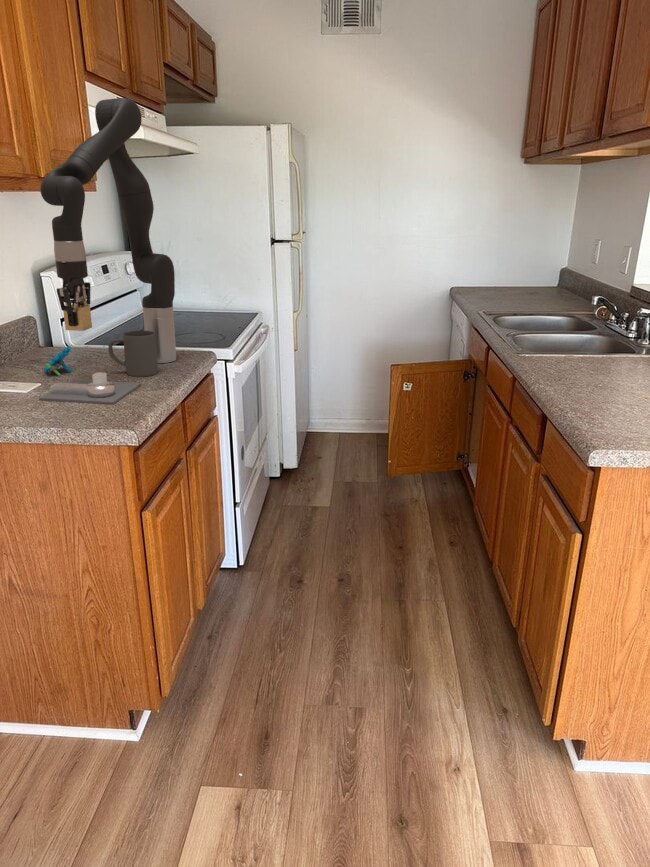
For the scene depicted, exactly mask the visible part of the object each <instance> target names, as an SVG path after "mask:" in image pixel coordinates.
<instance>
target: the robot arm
mask: <svg viewBox="0 0 650 867" xmlns="http://www.w3.org/2000/svg"><path fill="white" fill-rule="evenodd" d="M94 116H95V120H96V121H95V122H96V126H97V129H98V132H96V133H95V134H93V135H91V136H90V137H88V138H87V139H85V140H84V141H82V142H81V143H80V144H79V145H77V147H76V148H75V149H74V151H73V152H72V153H71V154H70V155H69V157H68V158H67V159H66V161H64V162H63V163H62V164H60V165H58V166H57V167H55V168H54V169H53V170H51V171H50V172H49V173H47V175H46V176H45V177H44V178H43V179H42V181H41V183H40V194H41V198H42V199H43V200H44V202H46V203H47V204H48V205H51V206H55V207H57V206H58V207H62V211H61V212H62V213H61V214H60V215H57V216H55V217H53V218H52V221H51V227H52V236H53V252H54V259H55V260H54V261H55V268H56V276H57V278H59V279H62V287H59V288H57V289H56V293H57V297H58V301H59V305H60V309H61V311H66V312H67V315H68V323H69V326H77V325H78V322H77V314H76V305H90V306H91V282H86V281H85V280H84V279H86V278H88V275H89V274H88V273H89V272H88V264H87V256H86V255H87V254H86V249H85V243H84V237H83V228H82V221H83V216H84V215H83V214H84V210H85V209H84V208H85V201H86V192H85V188H84V186H85V185H86V184H88V183H89V182H91V180H92V179H93V178H94V176H95V175H96V174H97V173H98V171H99V170H100V168H101V167H102V166H103V164H104V163H105V162H106V161H107V160H108V161H109V164H110V168H111V172H112V175H113V178H114V181H115V187H116V192H117V195H118V196H117V197H118V200H119V203H120V204H119V205H120V207H121V210H122V215H123V217H124V218H123V219H124V222H125V226H126V230H127V236H128V240H129V246H130V252H131V253H130V255H131V258H132V259H131V260H132V266H133V270H134V274H135V275H136V278H137V279H138V280H139V281H140V282H141V283H144V284H150V293H149V294H147V295H145V296H143V297H142V301H141V302H142V304H141V305H142V316H143V325H144V326H143V328H144V329H143V330H144V331H152V332H154V333H155V339H156V350H157V364H166V363H167V364H168V363H171V362H172V363H173V362H175V361H176V360H177V348H176V336H175V335H176V333H175V332H176V331H175V319H174V318H175V316H174V303H173V302H174V300H175V295H176V292H175V288H176V286H175V282H176V280H175V266H174V262H173V261H172V259H171V257H170V256H168V255H167V254H165V253H154V252H153V248H152V245H151V239H150V229H151V224H152V220H153V217H154V209H155V208H154V207H155V206H154V201H153V196H152V193H151V189H150V185H149V182H148V180H147V179H146V177H145V176H144V174H143V173H142V171H141V170H140V169H139V168H138V165H136V164H135V162H134V161H133V159H132V158H131V157H130V154H129V152H128V151H127V147H126V144H125V143H126V142H127V141H128V140H130V138H132V137H133V136H134V135H136V134H137V133H138V131H140V128H141V126H142V118H143V117H142V113H141V110H140V107H139V106H138V104H137V103H136V101H134V100H133V99H131V98H129V97H128V98H127V97H117V98H110V99H107V98H106V99H101V100H99V101H98V102H97V103H96V105H95V110H94Z"/></svg>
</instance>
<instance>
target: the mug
mask: <svg viewBox="0 0 650 867" xmlns="http://www.w3.org/2000/svg"><path fill="white" fill-rule="evenodd" d="M122 337H123V338H115V339H114V338H113V339H112V340H109V342H108V353H109V356H110V358H111V359H112V360H113V361H114V362H115V363H117V364H119V365H121V366H124V367H125V369H126V374H127V375H128V376H130V377H135V378H136V377H137V378H143V377H150V376H154V375H156V374H158V372H159V371H158V370H159V368H158V367H159V366H158V363H157V350H156V339H155V333H154V332H152V331H145V330H144V329H143V330H142V329H141V330H132V331H131V330H130V331H126V332H123V336H122ZM116 343H123V350H124V361H122V360H120V359H119V358H118V357H117V355H115V354H114V350H113V349H114V348H113V345H114V344H116Z"/></svg>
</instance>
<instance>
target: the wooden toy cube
mask: <svg viewBox="0 0 650 867" xmlns="http://www.w3.org/2000/svg"><path fill="white" fill-rule="evenodd" d="M76 314H77V322H78V325H77V326H69V323H68V315H67V312H66V311H63V320H64V327H65V331H77V332H84V331H86V330H89V329H92V328H93V322H92V312H91V304H90V305H77V304H76Z"/></svg>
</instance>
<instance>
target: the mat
mask: <svg viewBox="0 0 650 867" xmlns="http://www.w3.org/2000/svg"><path fill="white" fill-rule="evenodd" d="M107 382H110V381H109V380H107ZM111 382H112V383H114V385H115V395H113V396H110V397H106V398H91V397H88V396H86V395H68V394H51V391H48V393H46V394H43V395H42V396H40V397H39V398H38V401H46V402H47V401H48V402H49V401H50V402H65V403H66V402H67V403H81V404H82V403H83V404H85V403H86V404H99V405H115V404H116V403H117V402H119V401H121V400H122V399H124V398H125V397H127V396H128V395H129V394H131V393H132V392H134V391H135V390H136V389H138V388H139V387H141V386H142V382H124V381H111ZM67 383H75V384H90V383H93V380H86V379H72V380H70V381H68V382H67Z"/></svg>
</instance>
